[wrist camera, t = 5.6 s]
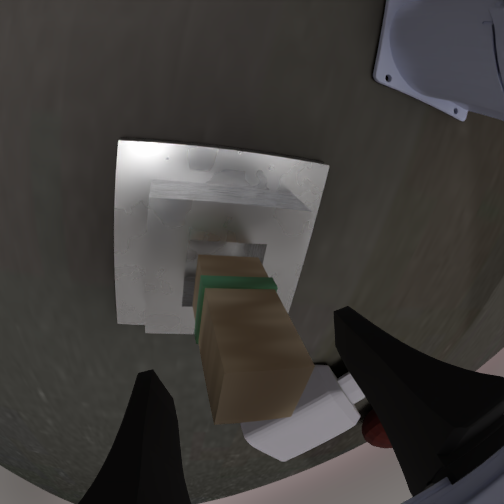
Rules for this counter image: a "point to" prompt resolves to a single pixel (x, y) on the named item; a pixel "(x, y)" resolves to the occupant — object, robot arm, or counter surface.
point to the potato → (375, 431)
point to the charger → (309, 417)
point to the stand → (205, 222)
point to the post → (246, 342)
